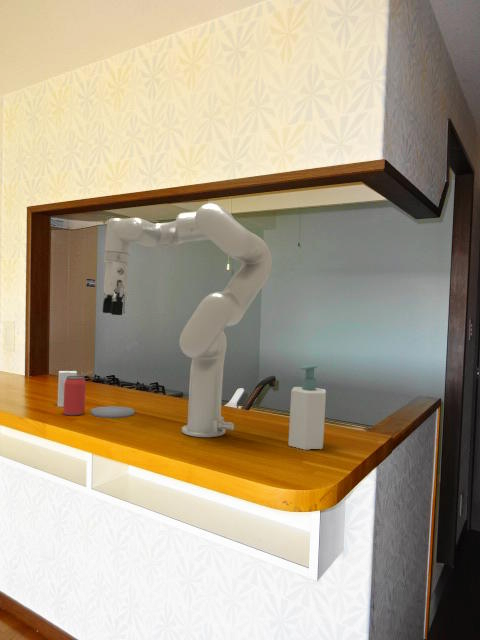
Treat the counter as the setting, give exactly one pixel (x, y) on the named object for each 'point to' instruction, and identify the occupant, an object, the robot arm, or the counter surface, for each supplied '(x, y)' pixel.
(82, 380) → the beer can
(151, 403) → the counter surface
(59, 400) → the skincare box
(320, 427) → the soap bottle
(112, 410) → the slate mat
